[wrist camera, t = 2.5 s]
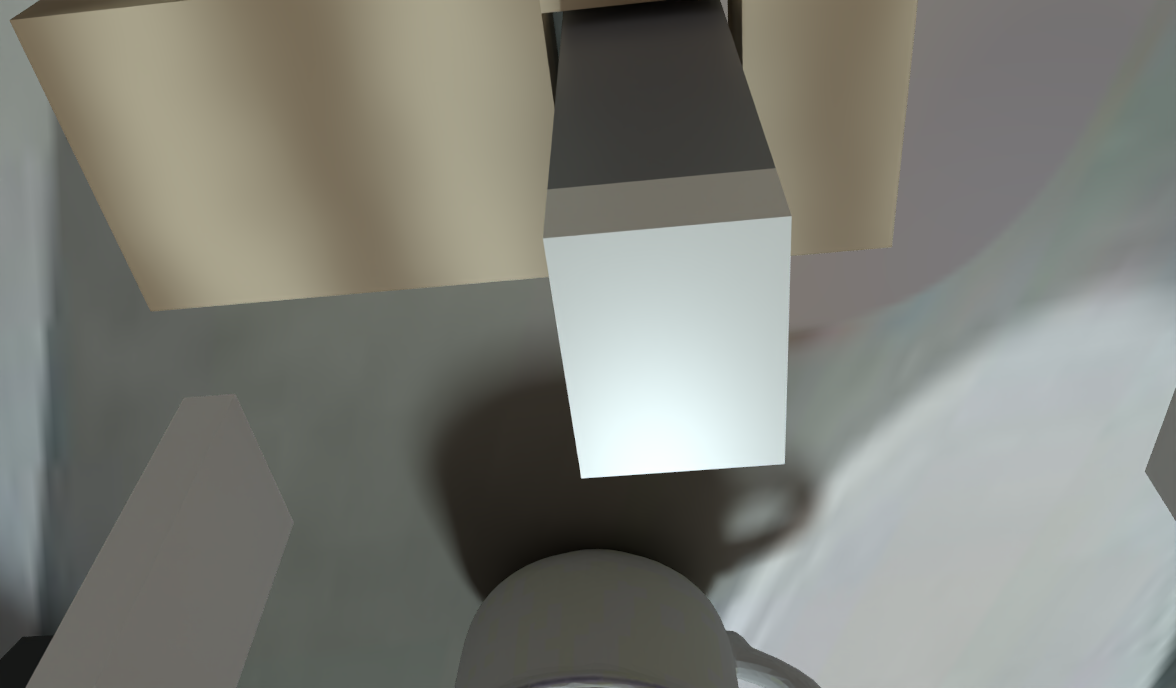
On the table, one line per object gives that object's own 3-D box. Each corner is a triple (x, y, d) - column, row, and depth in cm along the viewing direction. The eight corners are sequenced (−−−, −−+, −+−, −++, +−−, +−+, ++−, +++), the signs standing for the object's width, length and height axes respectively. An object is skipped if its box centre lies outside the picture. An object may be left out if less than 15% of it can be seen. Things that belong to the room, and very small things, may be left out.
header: (188, 253, 28) (150, 311, 25) (69, -20, 23) (9, 20, 21) (865, 191, 26) (891, 247, 24) (890, -114, 22) (926, -83, 19)
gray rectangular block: (587, 169, 26) (581, 478, 17) (565, -12, 23) (542, 238, 14) (715, 157, 26) (784, 464, 16) (710, -28, 23) (791, 216, 13)
